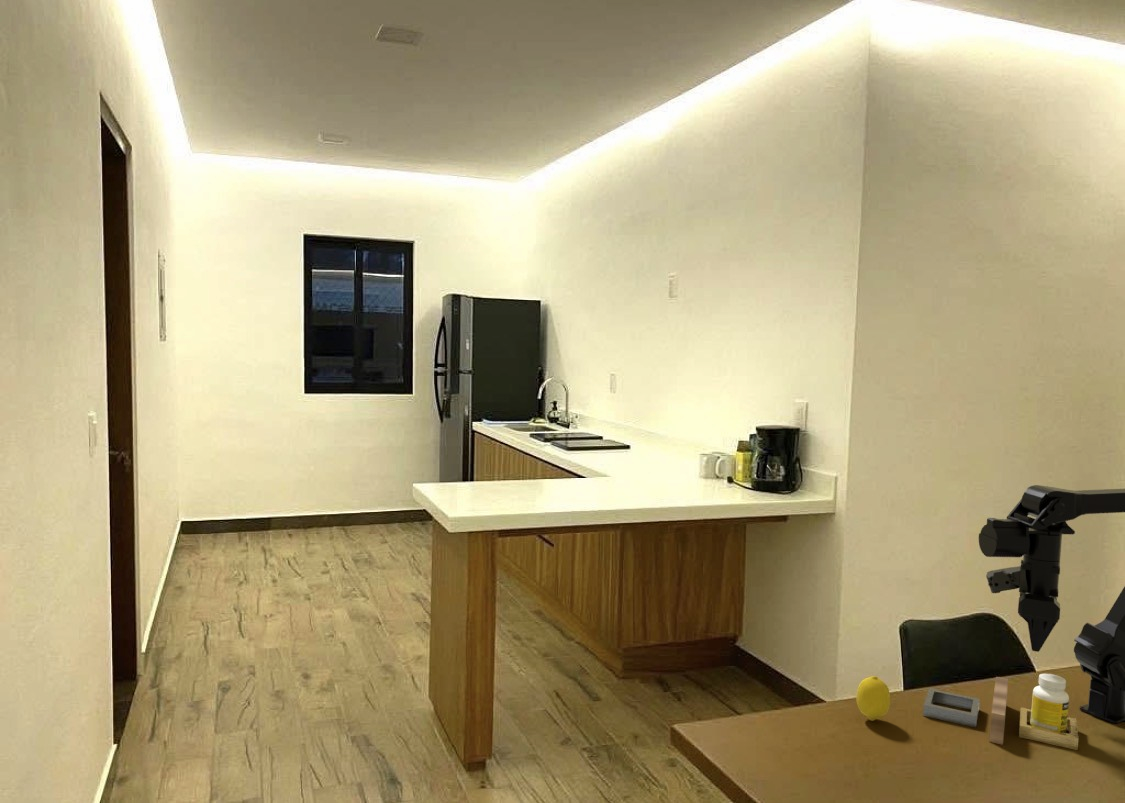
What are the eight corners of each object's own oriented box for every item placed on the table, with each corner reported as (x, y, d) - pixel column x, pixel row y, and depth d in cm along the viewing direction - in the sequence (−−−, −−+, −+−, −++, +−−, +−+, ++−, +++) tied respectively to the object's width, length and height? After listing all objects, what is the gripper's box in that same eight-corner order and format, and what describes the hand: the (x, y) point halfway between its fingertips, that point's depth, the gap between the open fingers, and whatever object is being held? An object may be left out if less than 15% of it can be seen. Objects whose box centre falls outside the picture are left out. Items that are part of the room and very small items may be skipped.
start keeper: (928, 698, 158) (929, 688, 158) (979, 709, 154) (979, 698, 154) (923, 715, 151) (923, 704, 151) (976, 727, 147) (976, 716, 147)
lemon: (891, 729, 145) (894, 683, 144) (857, 725, 146) (860, 680, 146) (885, 715, 150) (888, 671, 150) (853, 712, 152) (855, 668, 151)
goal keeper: (1019, 718, 151) (1020, 707, 151) (1075, 730, 147) (1076, 718, 147) (1018, 737, 144) (1019, 725, 143) (1077, 750, 139) (1078, 738, 139)
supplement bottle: (1065, 743, 142) (1070, 686, 141) (1028, 735, 144) (1032, 679, 144) (1066, 731, 146) (1070, 676, 145) (1030, 723, 149) (1034, 669, 148)
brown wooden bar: (994, 703, 157) (995, 676, 157) (1006, 705, 156) (1008, 679, 156) (989, 741, 142) (991, 712, 141) (1002, 744, 141) (1004, 715, 140)
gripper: (993, 541, 163) (987, 620, 164) (988, 561, 147) (982, 649, 148) (1060, 549, 158) (1054, 631, 159) (1063, 572, 141) (1056, 663, 142)
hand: (1035, 643), depth 152 cm, fingers open, 9 cm apart
